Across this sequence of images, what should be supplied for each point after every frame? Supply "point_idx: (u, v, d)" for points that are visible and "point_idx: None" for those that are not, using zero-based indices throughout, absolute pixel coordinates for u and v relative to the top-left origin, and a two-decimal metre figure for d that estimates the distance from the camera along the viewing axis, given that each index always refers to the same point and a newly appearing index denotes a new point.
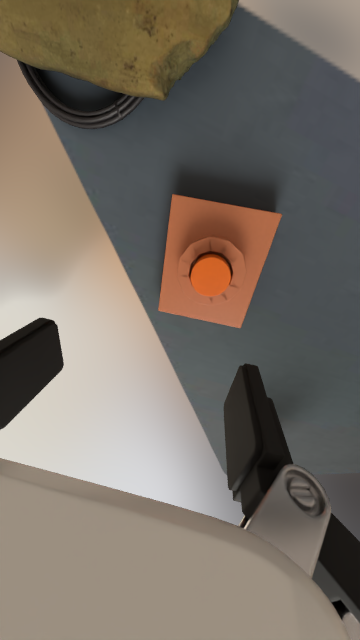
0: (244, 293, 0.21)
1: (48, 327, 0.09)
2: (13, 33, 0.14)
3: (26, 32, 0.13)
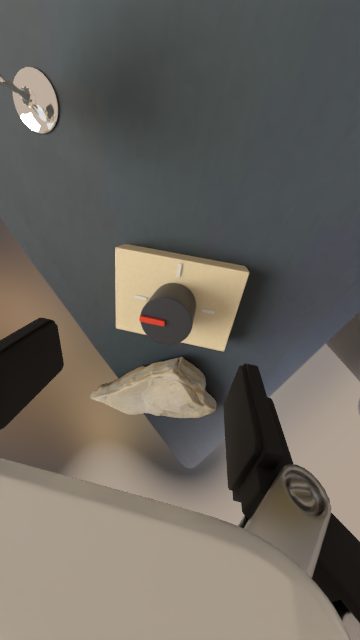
0: None
1: (48, 327, 0.09)
2: None
3: None
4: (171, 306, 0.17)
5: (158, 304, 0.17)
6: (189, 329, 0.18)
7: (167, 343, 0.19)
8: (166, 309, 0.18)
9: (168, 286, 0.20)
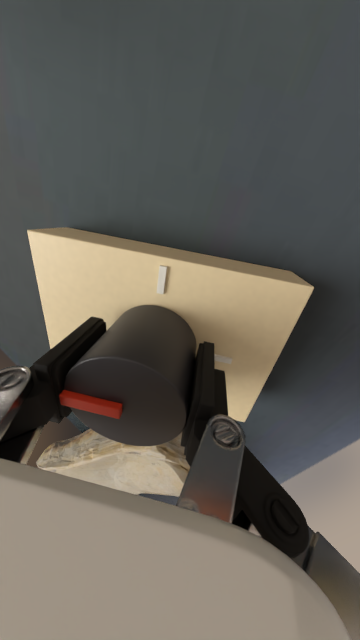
0: None
1: (101, 325, 0.10)
2: None
3: None
4: (134, 377, 0.07)
5: (101, 371, 0.07)
6: (181, 425, 0.08)
7: (132, 444, 0.09)
8: (122, 383, 0.07)
9: (138, 314, 0.09)
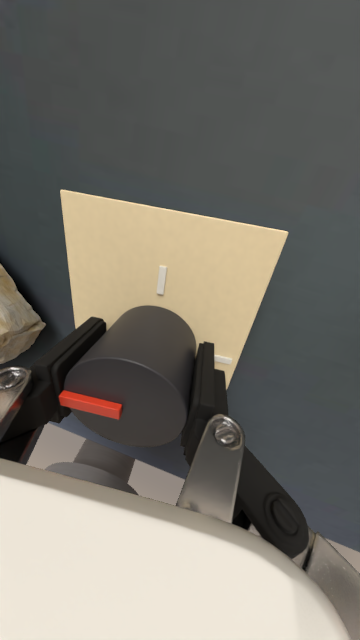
0: None
1: (101, 325, 0.10)
2: None
3: None
4: (134, 378, 0.07)
5: (101, 371, 0.07)
6: (180, 425, 0.08)
7: (132, 444, 0.09)
8: (122, 383, 0.07)
9: (137, 315, 0.09)
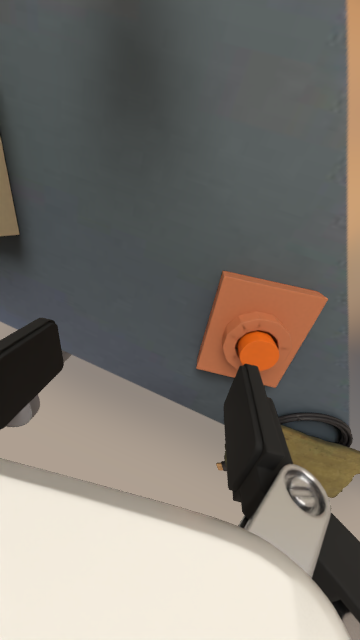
0: (220, 315, 0.21)
1: (48, 327, 0.09)
2: (346, 457, 0.26)
3: (338, 457, 0.26)
4: None
5: None
6: None
7: None
8: None
9: None
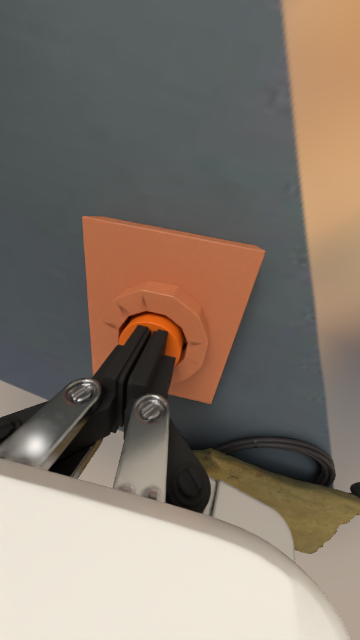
0: (99, 291, 0.13)
1: (148, 333, 0.10)
2: (324, 504, 0.18)
3: (312, 503, 0.18)
4: None
5: None
6: None
7: None
8: None
9: None
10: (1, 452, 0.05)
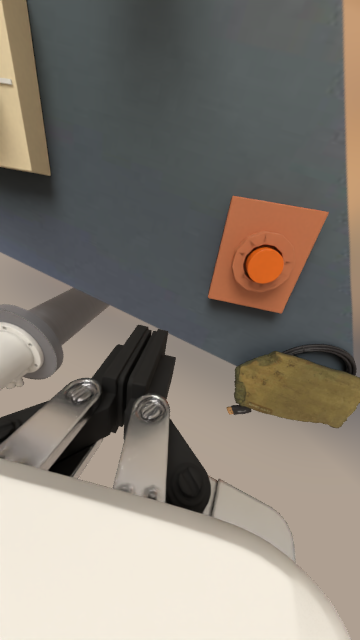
0: (229, 238, 0.23)
1: (148, 333, 0.10)
2: (349, 383, 0.28)
3: (341, 382, 0.28)
4: None
5: None
6: None
7: None
8: None
9: None
10: (1, 452, 0.05)
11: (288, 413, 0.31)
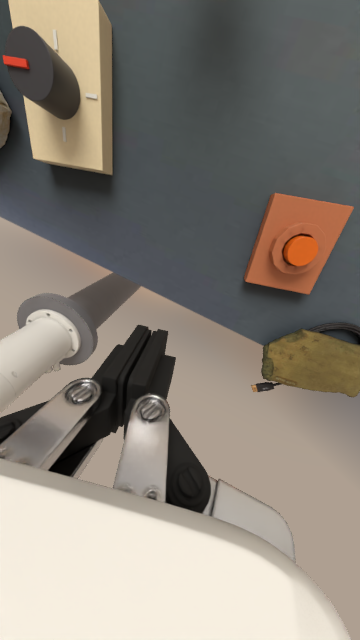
0: (269, 229, 0.27)
1: (148, 334, 0.10)
2: None
3: (359, 354, 0.32)
4: (28, 38, 0.18)
5: (17, 37, 0.18)
6: (51, 72, 0.19)
7: (37, 98, 0.20)
8: (25, 43, 0.19)
9: None
10: (1, 452, 0.05)
11: (312, 384, 0.35)
